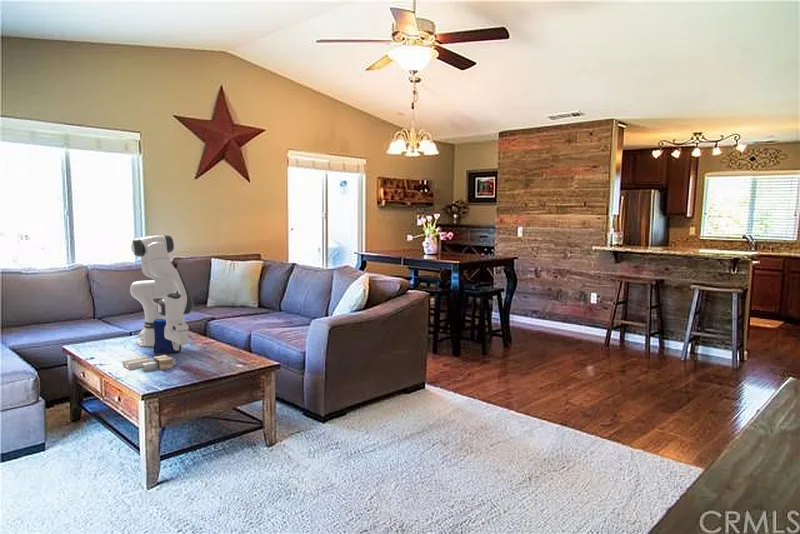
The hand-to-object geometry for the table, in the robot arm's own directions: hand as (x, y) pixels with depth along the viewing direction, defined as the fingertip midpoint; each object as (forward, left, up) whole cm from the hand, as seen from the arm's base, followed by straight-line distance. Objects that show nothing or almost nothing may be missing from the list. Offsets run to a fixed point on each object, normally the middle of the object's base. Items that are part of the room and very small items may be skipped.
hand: (176, 349), depth 279 cm
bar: (0, -9, -8) cm, 12 cm away
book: (-24, +6, -8) cm, 25 cm away
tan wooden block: (0, -7, -8) cm, 11 cm away
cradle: (-12, -15, -8) cm, 21 cm away
